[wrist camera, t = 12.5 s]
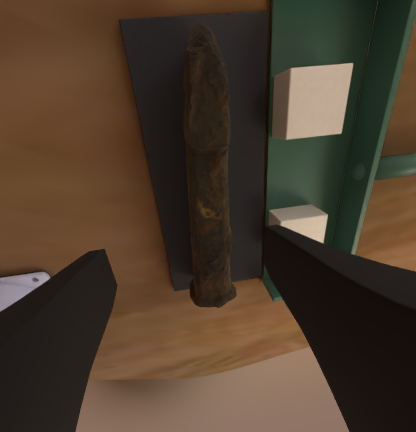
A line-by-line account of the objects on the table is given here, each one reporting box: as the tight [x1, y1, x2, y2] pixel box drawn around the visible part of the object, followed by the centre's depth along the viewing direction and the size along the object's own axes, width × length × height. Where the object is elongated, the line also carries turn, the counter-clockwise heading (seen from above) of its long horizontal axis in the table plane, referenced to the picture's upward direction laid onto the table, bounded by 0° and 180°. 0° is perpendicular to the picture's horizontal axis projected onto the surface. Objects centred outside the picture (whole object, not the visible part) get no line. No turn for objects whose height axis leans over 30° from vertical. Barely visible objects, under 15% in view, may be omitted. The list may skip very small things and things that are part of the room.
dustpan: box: [263, 0, 416, 302], centre depth 17 cm, size 16×23×3 cm
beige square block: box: [269, 204, 328, 243], centre depth 19 cm, size 4×4×2 cm
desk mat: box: [119, 11, 268, 291], centre depth 17 cm, size 9×21×1 cm, turn 5°
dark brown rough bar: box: [183, 21, 237, 308], centre depth 15 cm, size 19×4×5 cm, turn 0°
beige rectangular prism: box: [272, 63, 353, 140], centre depth 14 cm, size 4×4×2 cm
